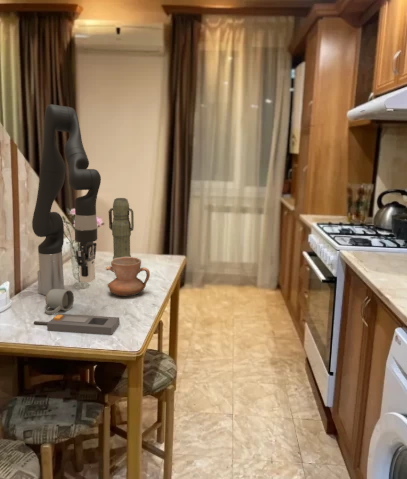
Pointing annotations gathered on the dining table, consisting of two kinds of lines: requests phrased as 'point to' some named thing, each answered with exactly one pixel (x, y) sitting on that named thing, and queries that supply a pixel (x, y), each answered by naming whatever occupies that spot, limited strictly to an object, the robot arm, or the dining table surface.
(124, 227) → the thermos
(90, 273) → the block
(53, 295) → the ceramic mug
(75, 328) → the power strip
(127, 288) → the ceramic jug
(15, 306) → the dining table surface
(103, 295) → the dining table surface
